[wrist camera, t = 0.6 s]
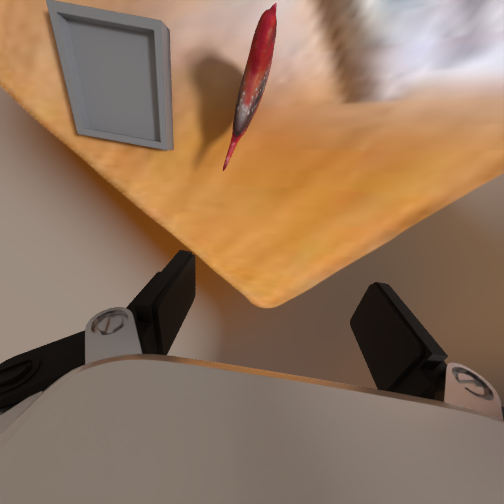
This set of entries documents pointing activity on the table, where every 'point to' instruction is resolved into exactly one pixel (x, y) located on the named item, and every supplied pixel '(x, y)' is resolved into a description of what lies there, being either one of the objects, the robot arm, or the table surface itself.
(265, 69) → the decorative bird figurine
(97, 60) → the tray
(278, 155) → the table surface
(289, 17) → the table surface
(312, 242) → the table surface
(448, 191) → the table surface
